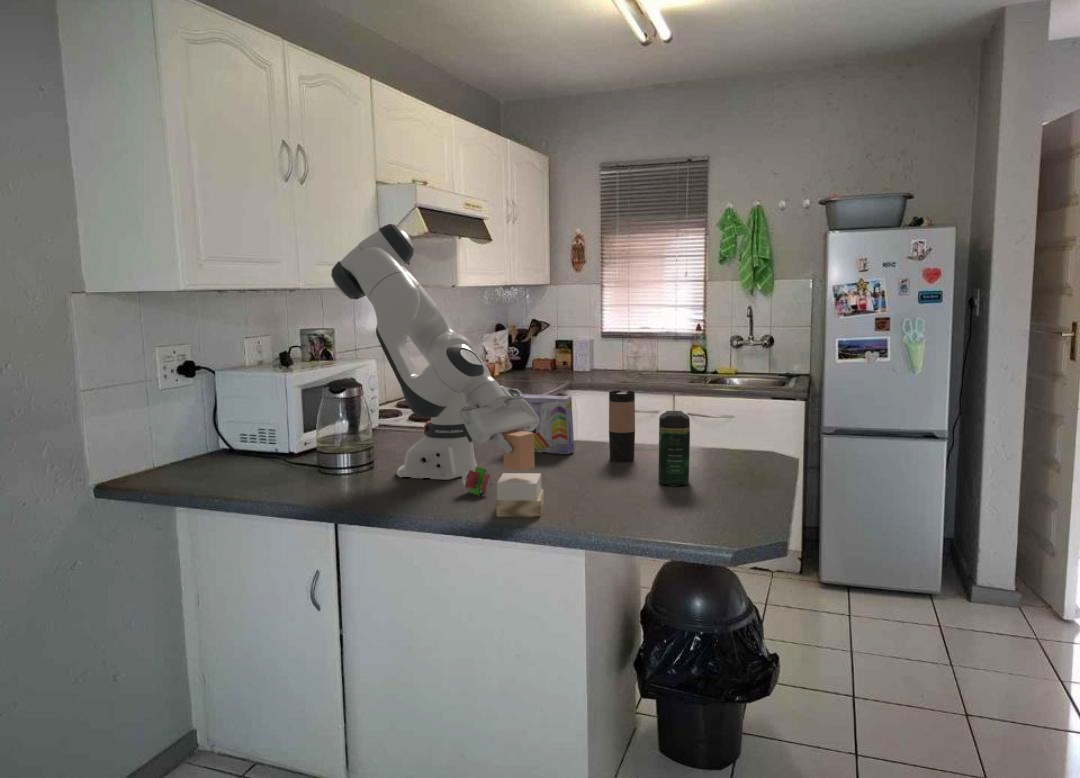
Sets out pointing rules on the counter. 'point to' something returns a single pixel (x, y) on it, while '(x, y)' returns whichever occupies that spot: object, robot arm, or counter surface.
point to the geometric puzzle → (476, 480)
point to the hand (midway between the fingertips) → (520, 449)
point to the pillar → (519, 450)
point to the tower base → (521, 507)
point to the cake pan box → (552, 423)
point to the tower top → (519, 486)
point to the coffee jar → (674, 448)
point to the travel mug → (621, 425)
